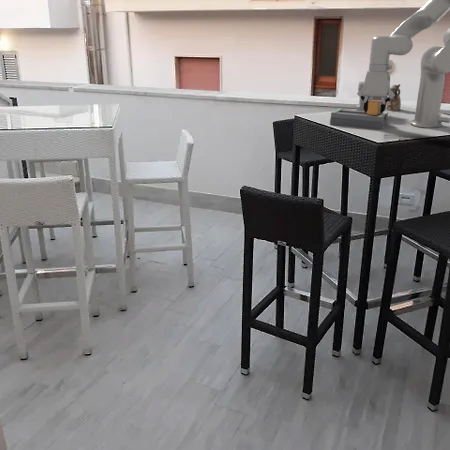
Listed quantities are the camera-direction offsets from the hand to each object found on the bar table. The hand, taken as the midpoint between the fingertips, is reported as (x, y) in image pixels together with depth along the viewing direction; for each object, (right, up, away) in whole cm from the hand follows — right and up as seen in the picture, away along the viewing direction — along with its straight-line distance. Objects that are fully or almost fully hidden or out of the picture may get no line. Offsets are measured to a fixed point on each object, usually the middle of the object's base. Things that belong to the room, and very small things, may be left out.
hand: (373, 112), depth 207 cm
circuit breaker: (+5, +3, +21) cm, 21 cm away
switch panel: (-5, -4, +5) cm, 8 cm away
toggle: (0, -2, +1) cm, 3 cm away
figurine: (+19, +9, +33) cm, 40 cm away
